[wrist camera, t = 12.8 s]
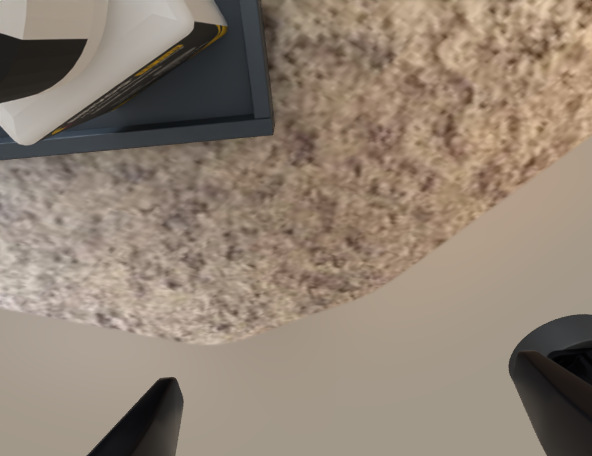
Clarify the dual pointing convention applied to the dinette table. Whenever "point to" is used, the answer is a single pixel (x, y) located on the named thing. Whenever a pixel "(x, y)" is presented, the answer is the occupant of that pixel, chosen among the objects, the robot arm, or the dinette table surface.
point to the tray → (183, 98)
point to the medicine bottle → (91, 56)
